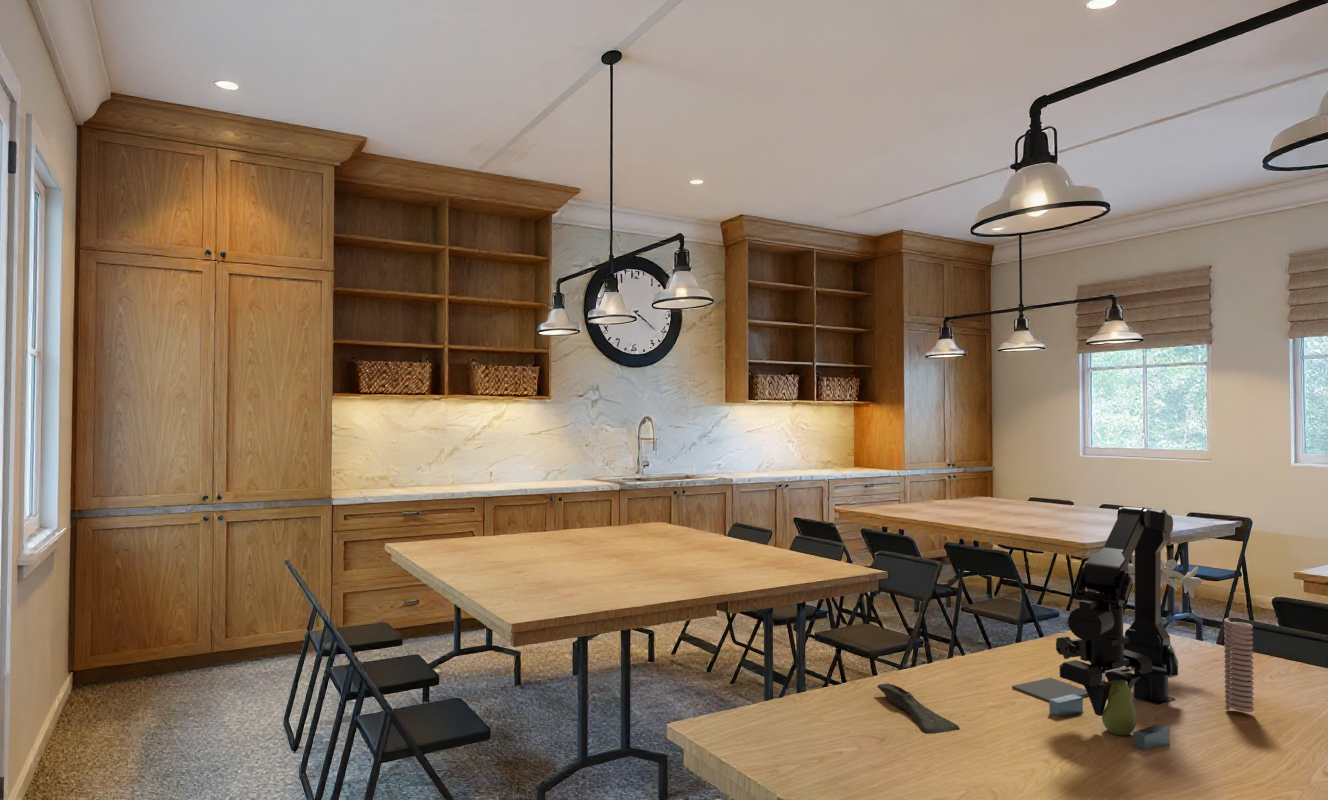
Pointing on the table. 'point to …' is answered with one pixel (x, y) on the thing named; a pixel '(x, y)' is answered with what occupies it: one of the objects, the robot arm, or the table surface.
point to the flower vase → (1169, 574)
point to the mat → (1049, 689)
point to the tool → (917, 710)
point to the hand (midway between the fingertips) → (1106, 713)
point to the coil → (1238, 666)
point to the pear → (1119, 709)
